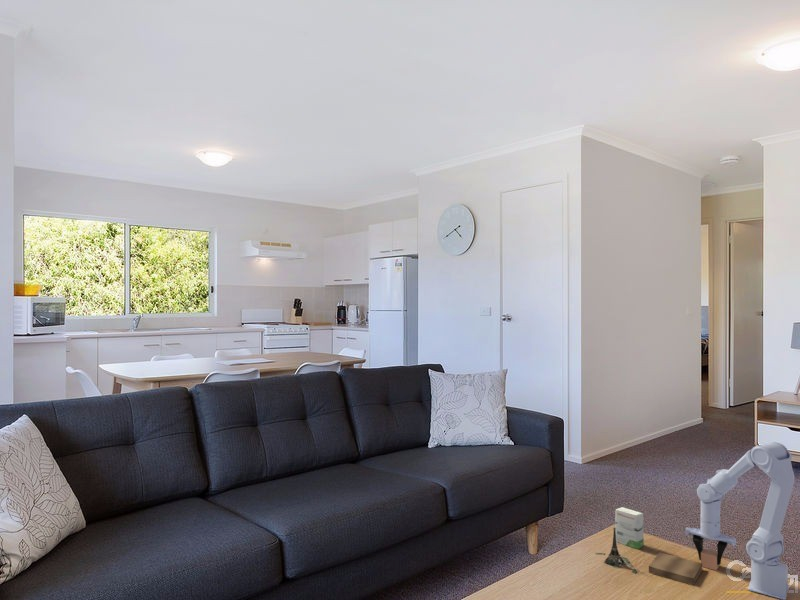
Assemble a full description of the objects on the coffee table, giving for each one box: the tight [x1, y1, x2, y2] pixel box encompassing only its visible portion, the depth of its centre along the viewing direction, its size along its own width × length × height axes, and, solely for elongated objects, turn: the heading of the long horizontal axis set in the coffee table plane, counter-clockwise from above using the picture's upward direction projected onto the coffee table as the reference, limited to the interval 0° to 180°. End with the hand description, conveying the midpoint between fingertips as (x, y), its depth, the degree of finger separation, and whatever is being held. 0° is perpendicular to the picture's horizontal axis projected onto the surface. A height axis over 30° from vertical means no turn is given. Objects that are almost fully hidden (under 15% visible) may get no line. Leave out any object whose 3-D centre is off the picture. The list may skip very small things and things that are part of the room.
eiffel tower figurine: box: [594, 526, 639, 575], centre depth 190 cm, size 15×10×13 cm
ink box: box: [614, 506, 645, 550], centre depth 206 cm, size 9×5×12 cm, turn 39°
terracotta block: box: [700, 547, 720, 571], centre depth 189 cm, size 5×5×4 cm
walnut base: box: [648, 551, 703, 586], centre depth 185 cm, size 13×13×2 cm
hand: (710, 561), depth 189 cm, fingers closed on terracotta block, 5 cm apart
